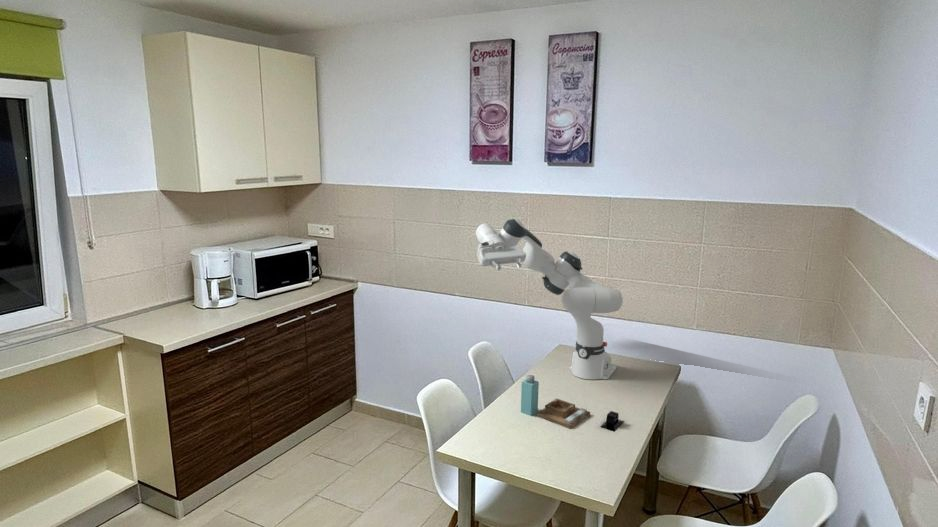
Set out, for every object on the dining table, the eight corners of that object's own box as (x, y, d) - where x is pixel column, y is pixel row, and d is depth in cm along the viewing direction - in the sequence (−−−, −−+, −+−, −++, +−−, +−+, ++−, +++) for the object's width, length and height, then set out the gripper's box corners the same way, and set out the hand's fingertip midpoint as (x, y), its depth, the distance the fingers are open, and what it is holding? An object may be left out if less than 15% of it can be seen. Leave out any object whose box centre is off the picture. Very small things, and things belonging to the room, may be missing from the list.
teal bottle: (527, 408, 205) (528, 373, 202) (537, 411, 202) (538, 376, 199) (520, 412, 201) (521, 376, 199) (530, 415, 198) (531, 380, 196)
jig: (557, 403, 209) (557, 394, 208) (589, 415, 200) (590, 405, 199) (536, 416, 198) (537, 406, 198) (569, 428, 189) (570, 418, 188)
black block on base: (615, 435, 186) (615, 423, 185) (595, 429, 190) (595, 417, 189) (627, 421, 196) (628, 410, 195) (608, 416, 200) (609, 404, 199)
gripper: (516, 252, 235) (530, 271, 224) (473, 257, 227) (485, 276, 217) (519, 240, 231) (533, 258, 221) (475, 244, 223) (488, 263, 213)
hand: (509, 267), depth 219 cm, fingers open, 8 cm apart
